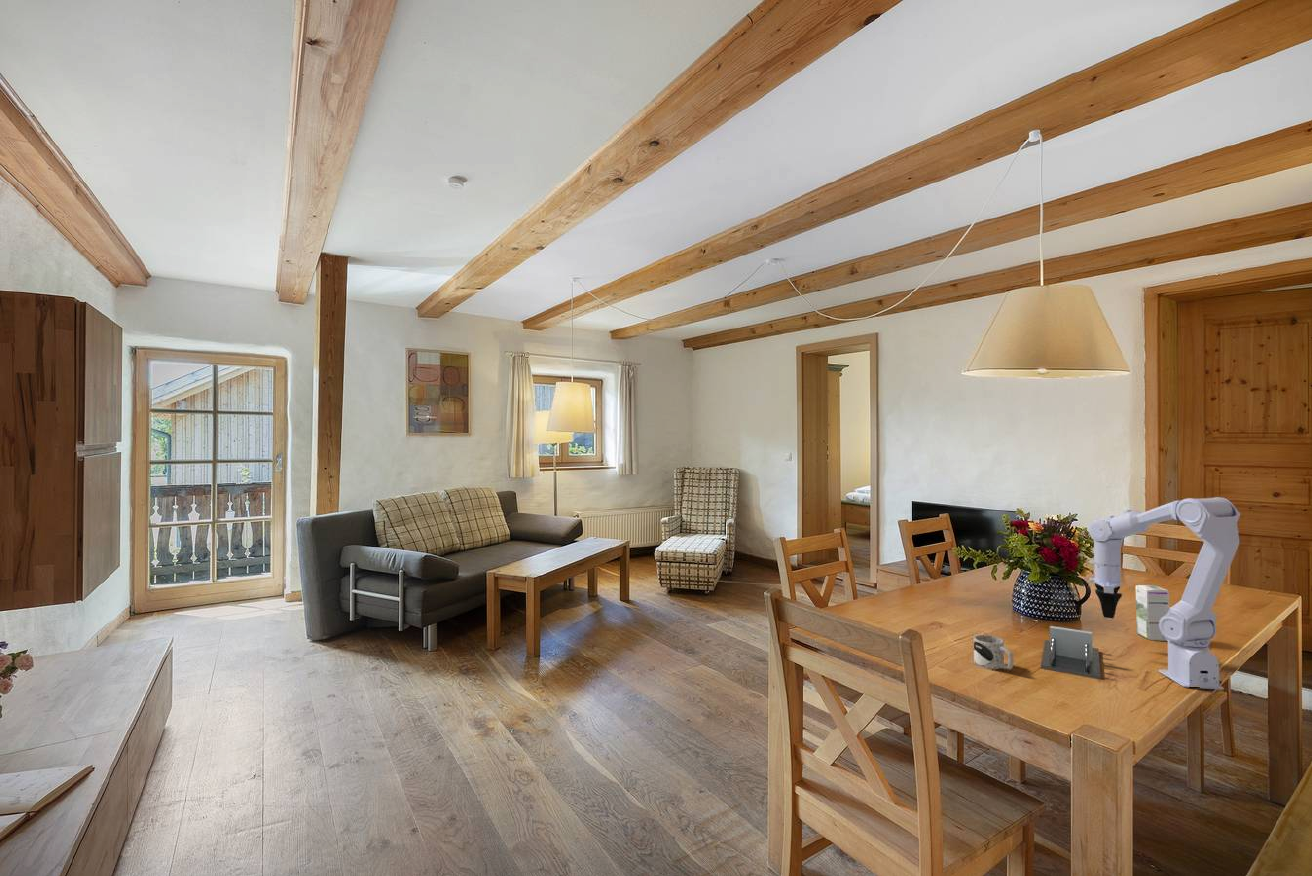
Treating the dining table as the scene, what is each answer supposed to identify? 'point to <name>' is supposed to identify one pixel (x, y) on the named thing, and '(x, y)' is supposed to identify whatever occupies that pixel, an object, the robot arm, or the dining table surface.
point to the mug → (991, 652)
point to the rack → (1071, 662)
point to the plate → (1071, 642)
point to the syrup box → (1151, 610)
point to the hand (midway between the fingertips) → (1108, 614)
